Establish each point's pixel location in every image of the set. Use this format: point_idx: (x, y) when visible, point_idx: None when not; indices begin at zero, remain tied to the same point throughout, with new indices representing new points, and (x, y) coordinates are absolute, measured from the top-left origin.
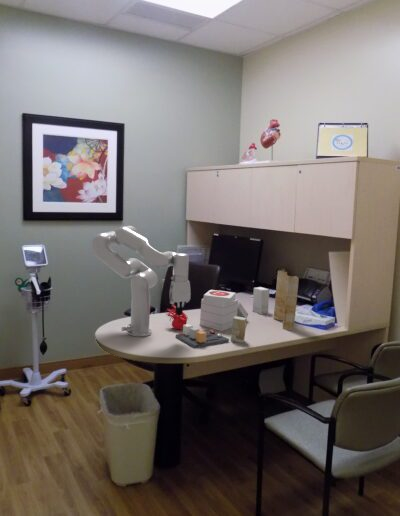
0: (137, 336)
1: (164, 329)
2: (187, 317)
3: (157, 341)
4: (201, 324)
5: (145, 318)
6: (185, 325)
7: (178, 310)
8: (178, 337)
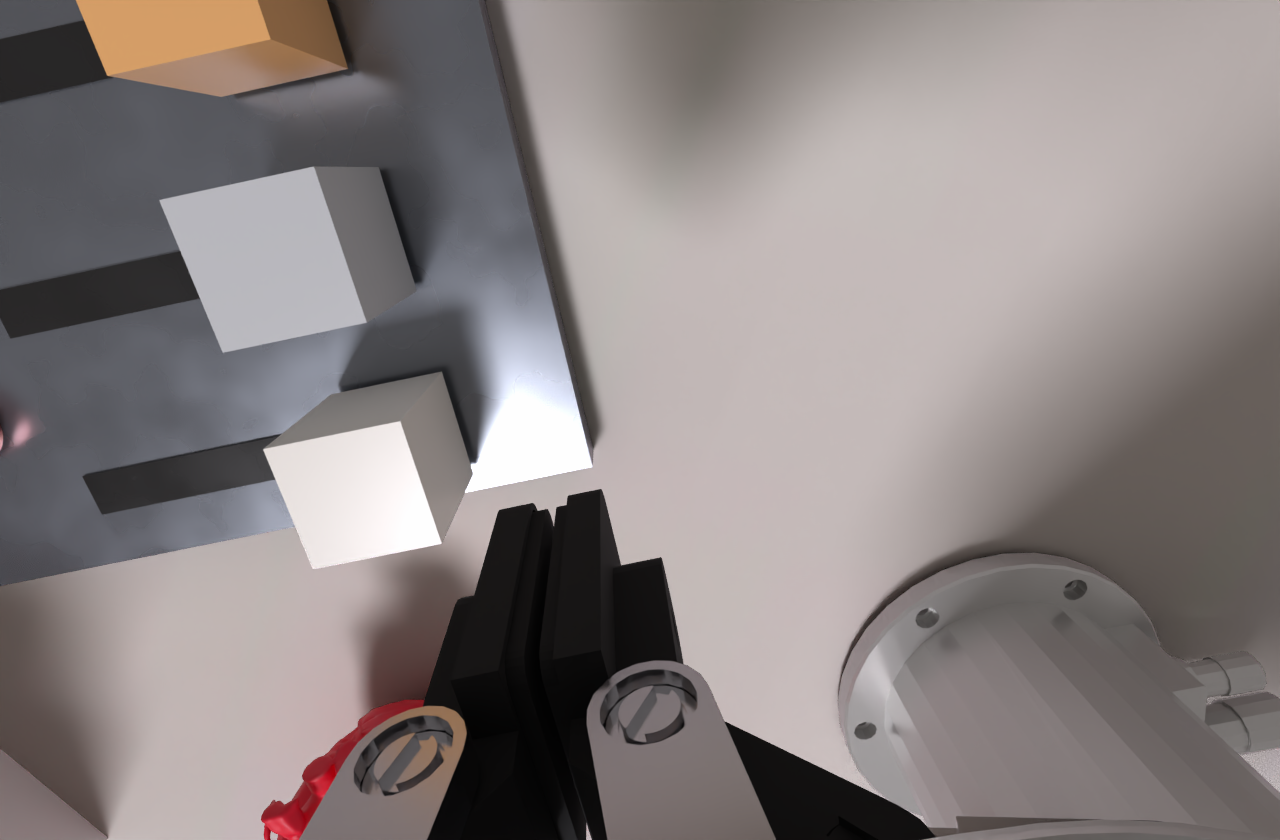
0: (1084, 566)
1: None
2: (265, 814)
3: (911, 344)
4: (80, 831)
5: (1136, 780)
6: (409, 501)
7: (624, 612)
8: (574, 383)
